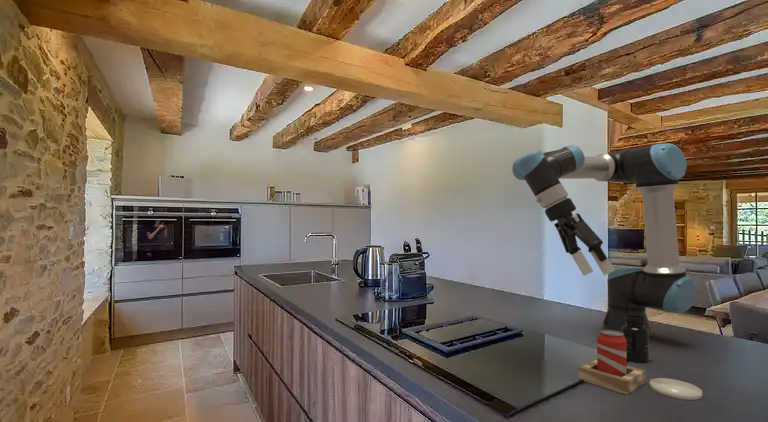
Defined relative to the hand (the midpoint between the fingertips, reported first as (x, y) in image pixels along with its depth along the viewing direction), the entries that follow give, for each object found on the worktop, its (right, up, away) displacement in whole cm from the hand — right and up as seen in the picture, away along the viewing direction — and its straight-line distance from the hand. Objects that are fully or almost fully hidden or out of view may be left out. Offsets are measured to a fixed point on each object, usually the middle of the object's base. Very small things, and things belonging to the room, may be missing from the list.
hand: (598, 273), depth 108 cm
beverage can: (-1, -26, -8) cm, 27 cm away
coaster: (+11, -25, -13) cm, 31 cm away
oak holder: (-1, -25, -8) cm, 27 cm away
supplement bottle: (+15, -26, +9) cm, 32 cm away
